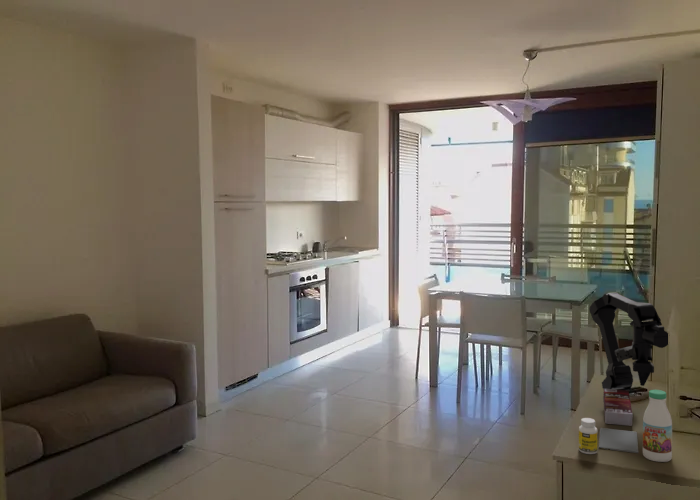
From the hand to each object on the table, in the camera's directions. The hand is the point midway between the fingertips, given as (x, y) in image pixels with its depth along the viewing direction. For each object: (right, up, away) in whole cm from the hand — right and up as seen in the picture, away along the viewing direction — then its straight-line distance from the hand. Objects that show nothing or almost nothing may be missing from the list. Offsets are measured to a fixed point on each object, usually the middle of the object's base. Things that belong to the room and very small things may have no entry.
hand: (642, 385), depth 204 cm
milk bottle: (-8, -16, -26) cm, 32 cm away
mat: (-14, -14, -14) cm, 25 cm away
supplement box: (-9, -11, -2) cm, 14 cm away
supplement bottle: (-27, -16, -20) cm, 37 cm away
